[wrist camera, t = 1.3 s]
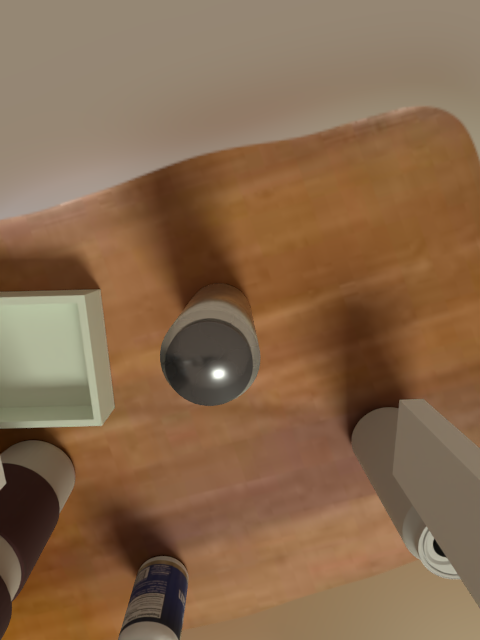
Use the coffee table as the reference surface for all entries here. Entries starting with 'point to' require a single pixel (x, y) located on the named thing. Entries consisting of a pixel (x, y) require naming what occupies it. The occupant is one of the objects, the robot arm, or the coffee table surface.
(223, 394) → the shaker
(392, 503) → the beverage can
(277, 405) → the coffee table surface
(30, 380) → the tray
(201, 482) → the coffee table surface
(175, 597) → the pill bottle
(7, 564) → the coffee cup
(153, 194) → the coffee table surface
